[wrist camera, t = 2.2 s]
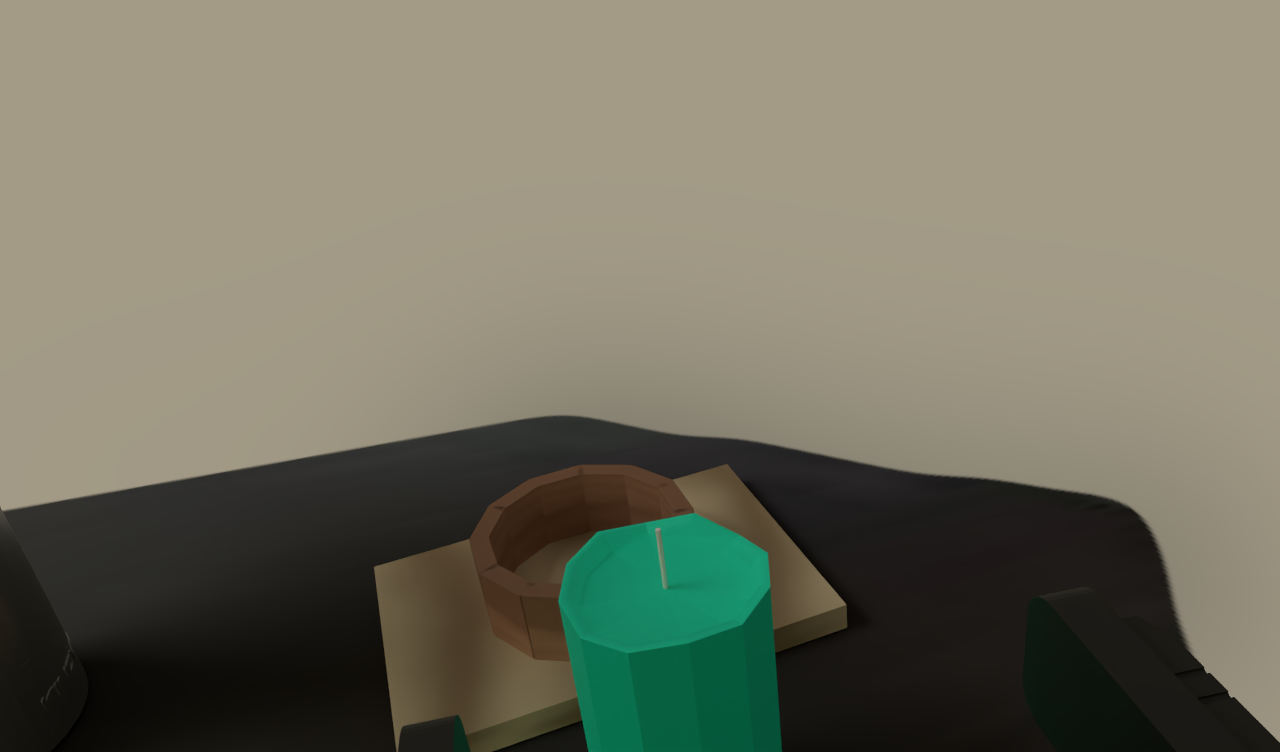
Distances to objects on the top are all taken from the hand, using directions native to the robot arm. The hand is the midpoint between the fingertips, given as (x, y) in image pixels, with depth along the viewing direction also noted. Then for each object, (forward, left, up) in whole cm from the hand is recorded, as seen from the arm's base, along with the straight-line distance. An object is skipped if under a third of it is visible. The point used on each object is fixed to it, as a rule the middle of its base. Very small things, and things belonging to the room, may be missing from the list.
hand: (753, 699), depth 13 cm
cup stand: (+2, +23, -17) cm, 29 cm away
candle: (+2, +11, -17) cm, 20 cm away
